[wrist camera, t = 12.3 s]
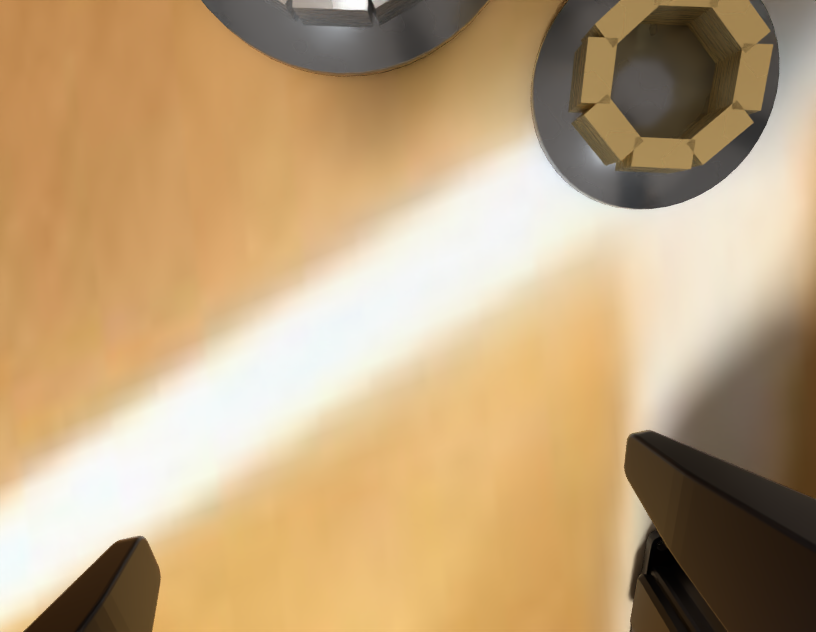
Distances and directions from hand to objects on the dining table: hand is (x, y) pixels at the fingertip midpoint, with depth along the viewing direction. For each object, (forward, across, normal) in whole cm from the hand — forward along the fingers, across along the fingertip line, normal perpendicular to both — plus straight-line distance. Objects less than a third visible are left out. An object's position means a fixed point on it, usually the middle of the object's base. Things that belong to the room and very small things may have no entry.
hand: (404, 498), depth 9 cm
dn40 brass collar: (+12, -12, -6) cm, 18 cm away
